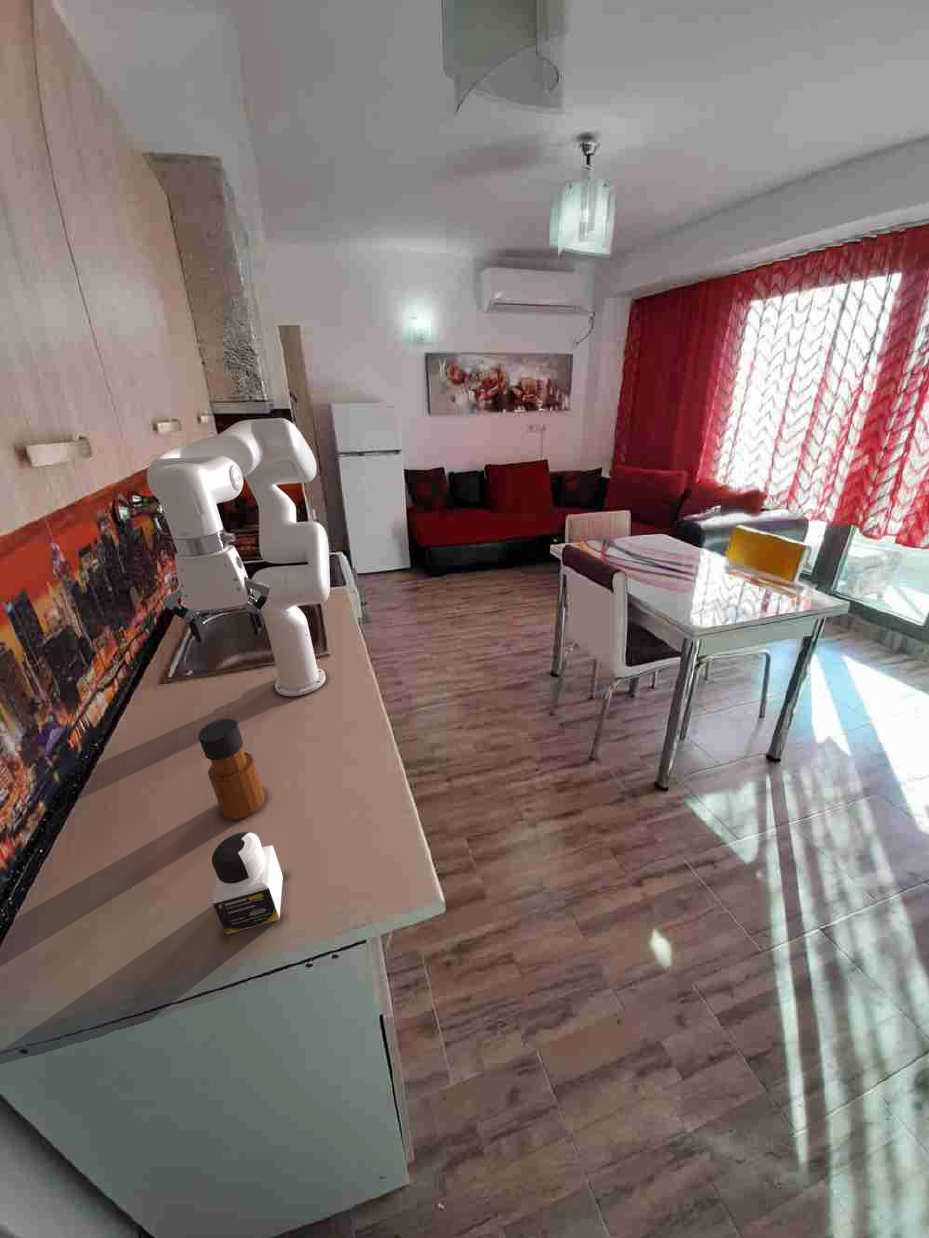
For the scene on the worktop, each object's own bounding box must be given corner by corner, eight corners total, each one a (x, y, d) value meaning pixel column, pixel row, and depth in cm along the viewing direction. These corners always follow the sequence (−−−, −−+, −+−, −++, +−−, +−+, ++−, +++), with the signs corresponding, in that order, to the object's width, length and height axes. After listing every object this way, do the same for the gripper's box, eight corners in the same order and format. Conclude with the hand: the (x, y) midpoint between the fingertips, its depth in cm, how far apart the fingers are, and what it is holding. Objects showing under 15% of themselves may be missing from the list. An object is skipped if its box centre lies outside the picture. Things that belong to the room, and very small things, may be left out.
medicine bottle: (225, 936, 65) (200, 877, 60) (234, 889, 71) (211, 832, 66) (279, 920, 67) (259, 861, 61) (283, 876, 73) (265, 819, 68)
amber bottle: (227, 792, 89) (208, 738, 84) (267, 785, 90) (250, 731, 85) (217, 823, 83) (195, 766, 77) (260, 814, 84) (242, 758, 78)
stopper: (216, 755, 85) (204, 721, 81) (251, 749, 86) (240, 716, 82) (206, 779, 79) (193, 744, 76) (244, 772, 80) (232, 737, 77)
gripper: (261, 531, 82) (283, 619, 90) (153, 542, 79) (186, 632, 87) (252, 544, 75) (277, 637, 83) (134, 557, 73) (172, 652, 81)
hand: (230, 634), depth 85 cm, fingers open, 9 cm apart
